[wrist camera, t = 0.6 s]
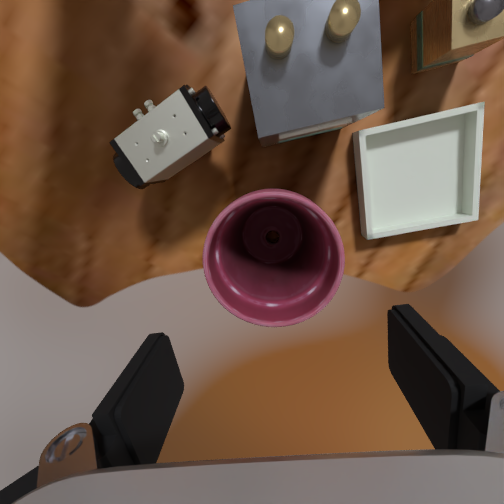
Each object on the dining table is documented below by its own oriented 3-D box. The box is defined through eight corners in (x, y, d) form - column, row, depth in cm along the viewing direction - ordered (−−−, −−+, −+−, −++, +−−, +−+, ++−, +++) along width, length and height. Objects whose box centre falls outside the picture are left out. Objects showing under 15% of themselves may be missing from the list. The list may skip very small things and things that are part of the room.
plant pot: (207, 202, 37) (176, 221, 24) (304, 166, 34) (323, 167, 22) (243, 289, 41) (232, 342, 29) (332, 262, 38) (361, 308, 26)
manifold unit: (247, 67, 31) (229, -9, 17) (332, 44, 30) (386, -59, 16) (262, 150, 34) (258, 141, 20) (341, 131, 33) (393, 108, 19)
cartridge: (410, 22, 29) (460, -28, 21) (459, 8, 28) (529, -48, 21) (411, 75, 30) (458, 45, 23) (458, 63, 30) (523, 28, 22)
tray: (352, 133, 33) (358, 130, 30) (468, 106, 31) (484, 101, 29) (361, 234, 37) (367, 239, 34) (464, 216, 35) (478, 220, 33)
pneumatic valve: (240, 137, 34) (225, 123, 22) (169, 185, 36) (123, 195, 25) (216, 95, 32) (187, 59, 21) (144, 148, 35) (84, 141, 23)
